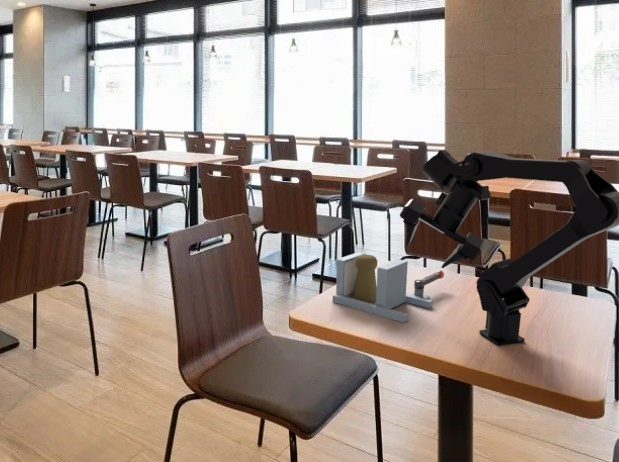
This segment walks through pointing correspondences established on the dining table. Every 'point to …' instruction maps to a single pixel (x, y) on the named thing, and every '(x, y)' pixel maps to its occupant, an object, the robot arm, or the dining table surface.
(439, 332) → the dining table surface
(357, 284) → the cork
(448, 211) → the robot arm
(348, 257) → the vise bed
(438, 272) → the lock handle
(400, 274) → the block
